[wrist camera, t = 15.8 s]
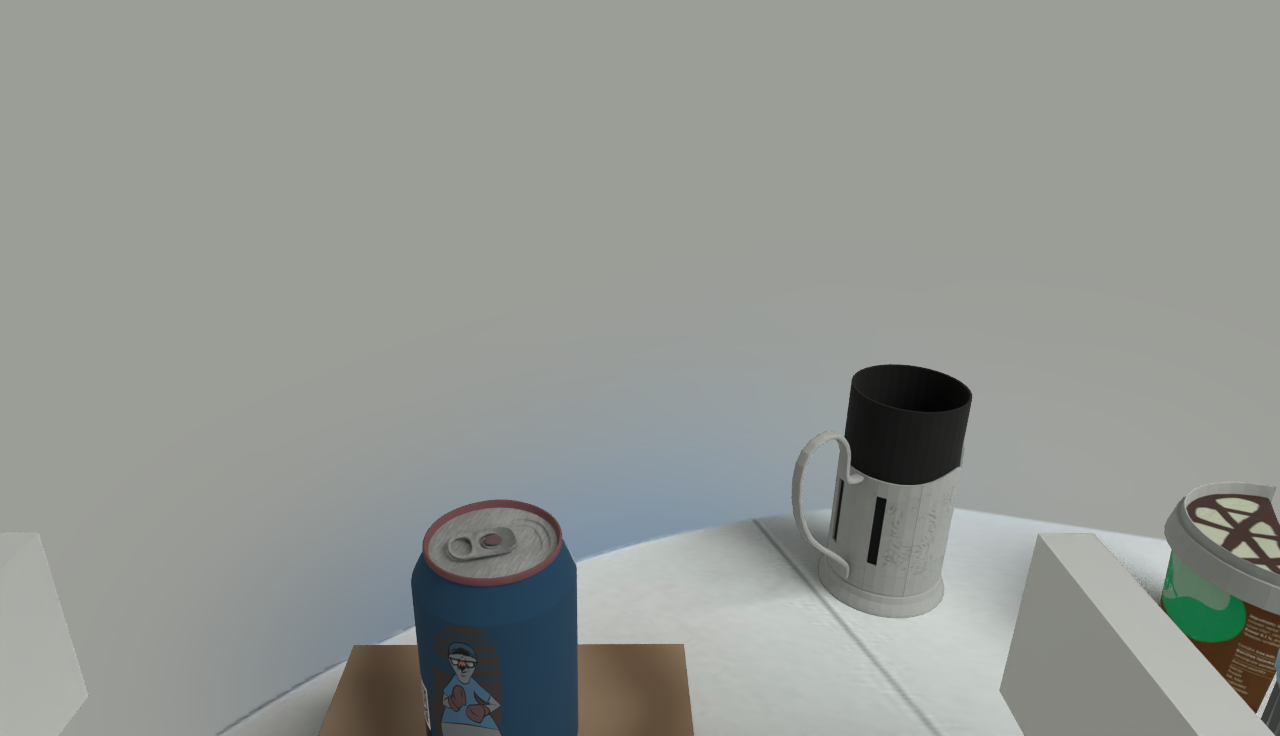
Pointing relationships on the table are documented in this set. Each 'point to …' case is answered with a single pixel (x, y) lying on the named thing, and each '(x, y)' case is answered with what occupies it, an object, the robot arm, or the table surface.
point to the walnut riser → (607, 692)
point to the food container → (1227, 581)
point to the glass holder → (891, 489)
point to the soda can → (497, 623)
